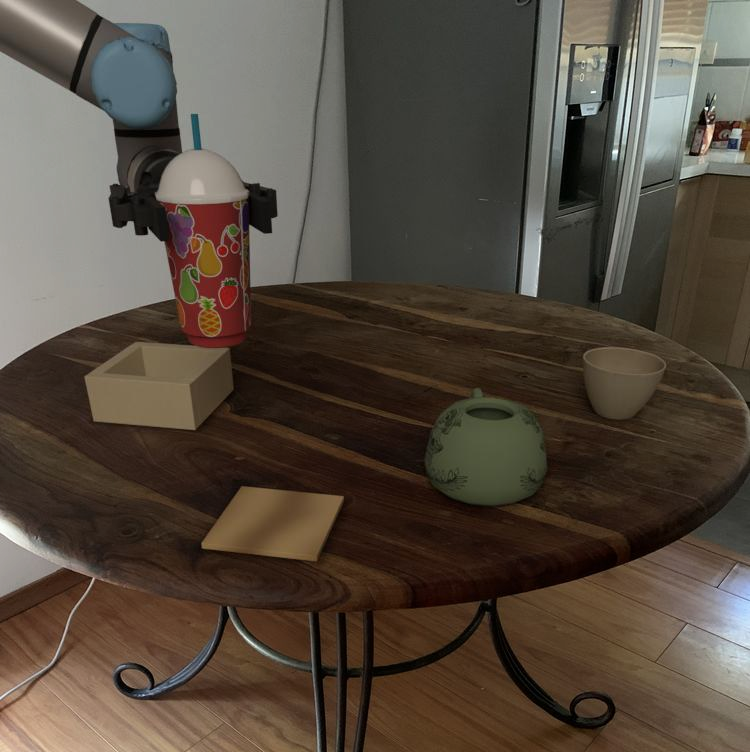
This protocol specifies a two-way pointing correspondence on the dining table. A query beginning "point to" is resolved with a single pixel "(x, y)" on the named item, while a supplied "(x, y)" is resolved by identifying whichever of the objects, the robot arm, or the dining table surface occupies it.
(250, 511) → the cork mat
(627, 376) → the flower pot
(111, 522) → the dining table surface
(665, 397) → the dining table surface
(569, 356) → the dining table surface
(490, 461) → the green rounded ceramic pot
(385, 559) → the dining table surface
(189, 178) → the smoothie
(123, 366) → the square beige tray
